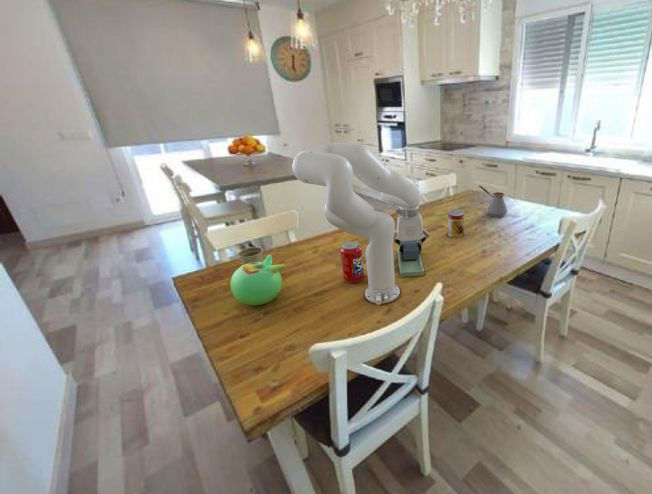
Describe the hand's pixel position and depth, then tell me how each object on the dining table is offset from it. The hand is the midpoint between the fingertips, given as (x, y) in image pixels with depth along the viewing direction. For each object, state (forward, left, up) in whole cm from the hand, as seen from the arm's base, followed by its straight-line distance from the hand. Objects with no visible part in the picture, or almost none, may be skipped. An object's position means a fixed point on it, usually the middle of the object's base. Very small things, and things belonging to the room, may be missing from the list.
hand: (410, 252), depth 131 cm
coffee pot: (+60, -54, -7) cm, 81 cm away
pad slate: (0, 0, -1) cm, 1 cm away
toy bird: (-14, +55, -7) cm, 57 cm away
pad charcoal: (+10, 0, -7) cm, 12 cm away
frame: (+5, 0, -7) cm, 9 cm away
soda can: (-5, +23, -7) cm, 25 cm away
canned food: (+31, -26, -7) cm, 41 cm away
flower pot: (+8, +65, -7) cm, 66 cm away
